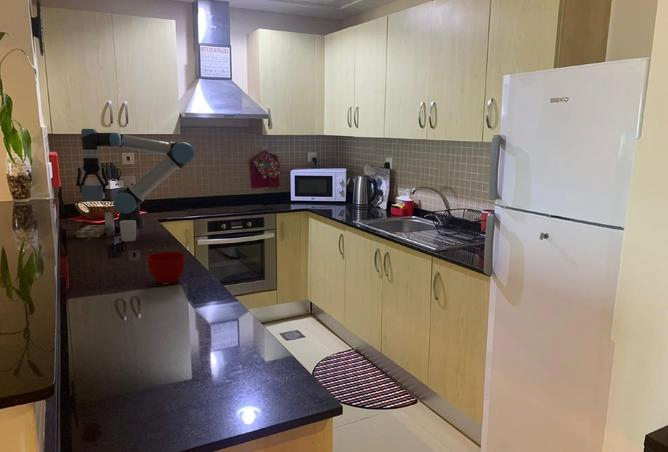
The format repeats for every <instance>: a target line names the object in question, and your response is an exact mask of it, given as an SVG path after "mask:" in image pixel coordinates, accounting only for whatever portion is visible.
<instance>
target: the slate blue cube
mask: <svg viewBox="0 0 668 452" xmlns="http://www.w3.org/2000/svg"><path fill="white" fill-rule="evenodd" d="M101 187H102V185H101V183H97V184H96V183H95V184H94V183H86V184H84V185H82V186H81V188H82V193H81V197H82V199H81V200H82V201H83V202H84V201H102V200H103V199H102V195H101ZM105 194H106V193H104V197H105V198H106V195H105Z"/></svg>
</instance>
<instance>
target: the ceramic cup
mask: <svg viewBox="0 0 668 452" xmlns="http://www.w3.org/2000/svg"><path fill="white" fill-rule="evenodd" d="M147 263H148V270H149V273H150V275H151V277H152V278H153V279H154V280H155V281H156V282H157V284H159V283H173V282H176V281H178V280H179V279H180V278H181V276H182V275H183V272H184V267H185V253H183V252H177V251H164V252H162V251H161V252H156V253H153V254H150V255H147ZM176 283H177V282H176ZM173 284H174V283H173Z"/></svg>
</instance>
